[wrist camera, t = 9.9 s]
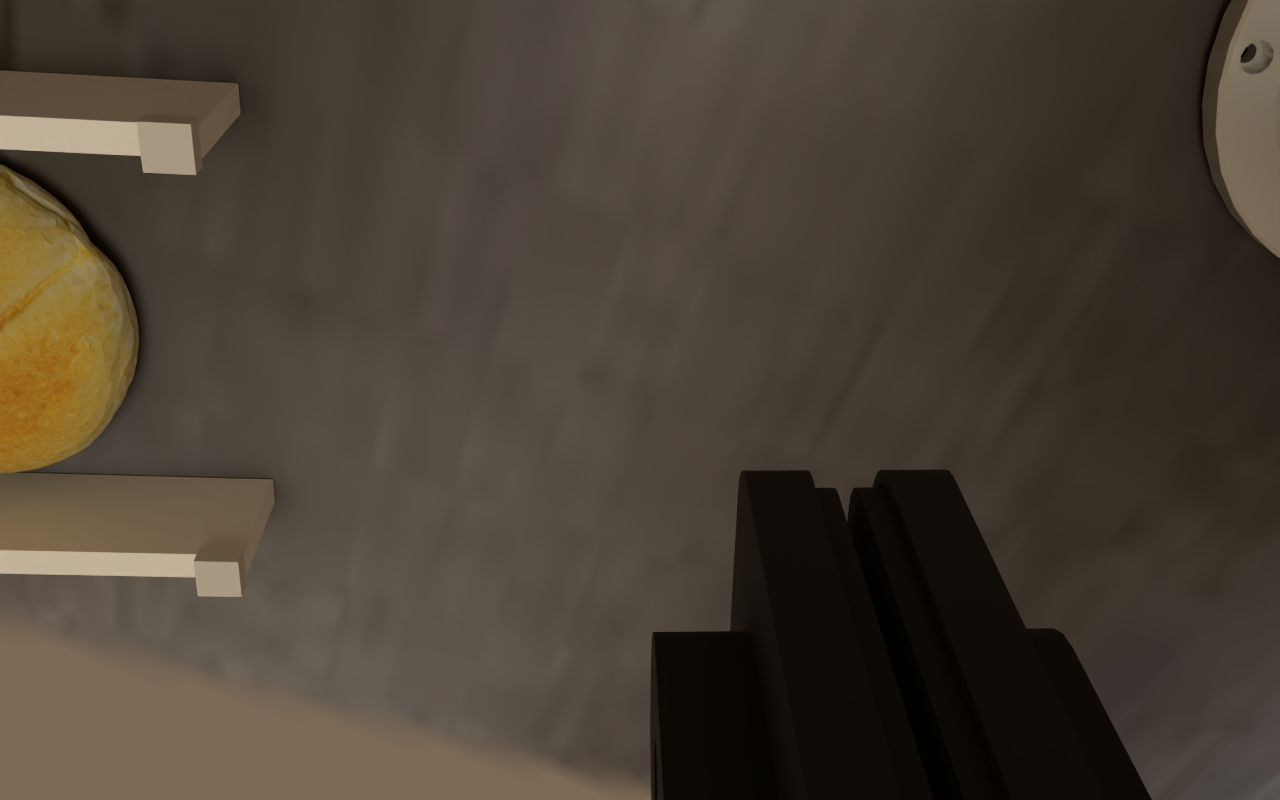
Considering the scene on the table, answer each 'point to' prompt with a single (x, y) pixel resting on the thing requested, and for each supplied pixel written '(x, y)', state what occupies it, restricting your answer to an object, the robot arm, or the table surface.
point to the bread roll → (57, 330)
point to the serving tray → (116, 504)
